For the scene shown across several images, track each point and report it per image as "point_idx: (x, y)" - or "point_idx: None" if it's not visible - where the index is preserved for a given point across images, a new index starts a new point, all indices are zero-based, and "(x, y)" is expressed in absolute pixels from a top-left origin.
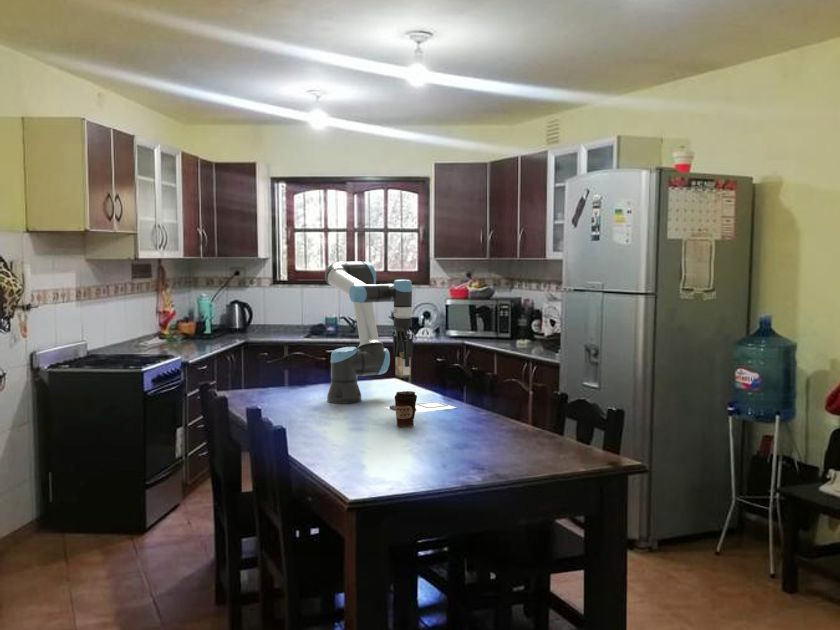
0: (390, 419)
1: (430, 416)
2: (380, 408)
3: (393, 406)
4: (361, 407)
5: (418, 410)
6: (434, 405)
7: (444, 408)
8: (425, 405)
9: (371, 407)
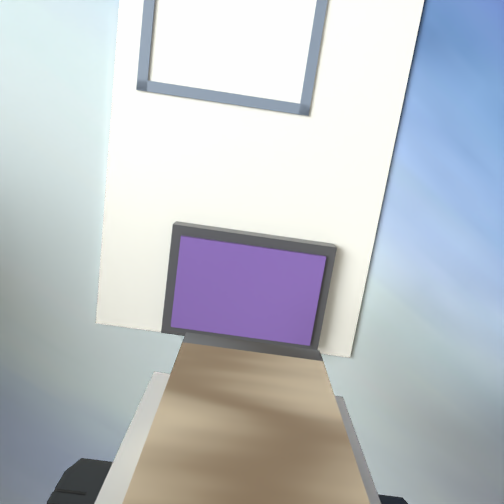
0: (393, 474)
1: (494, 260)
2: (101, 344)
3: (197, 329)
4: (8, 410)
5: (325, 217)
6: (261, 4)
7: (394, 23)
8: (218, 60)
9: (42, 367)
